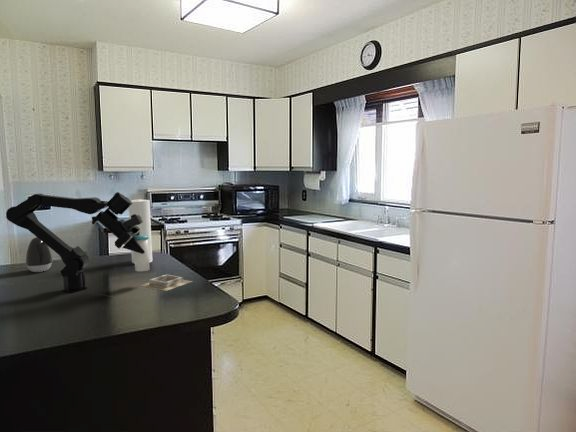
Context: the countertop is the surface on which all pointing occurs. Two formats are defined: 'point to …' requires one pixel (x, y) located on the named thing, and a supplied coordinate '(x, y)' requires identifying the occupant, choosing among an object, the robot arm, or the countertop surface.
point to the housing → (166, 282)
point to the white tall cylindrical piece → (142, 259)
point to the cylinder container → (143, 210)
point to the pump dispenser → (38, 256)
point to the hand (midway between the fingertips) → (145, 251)
